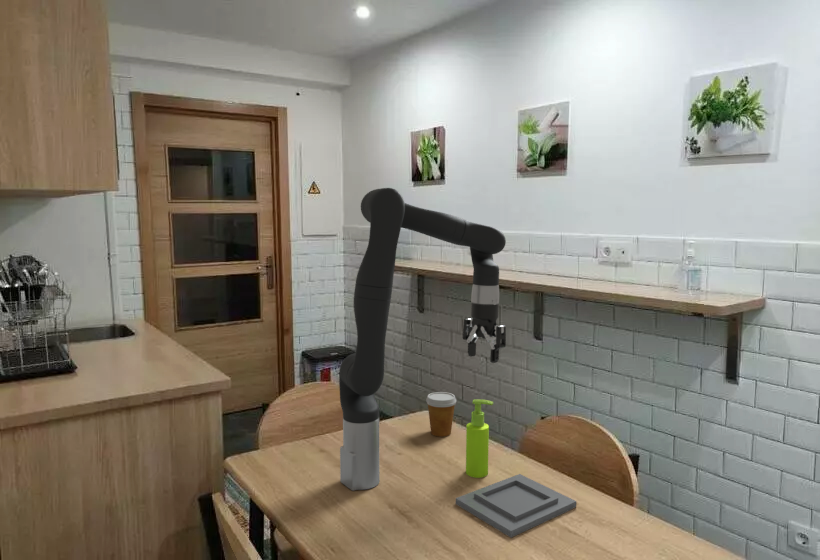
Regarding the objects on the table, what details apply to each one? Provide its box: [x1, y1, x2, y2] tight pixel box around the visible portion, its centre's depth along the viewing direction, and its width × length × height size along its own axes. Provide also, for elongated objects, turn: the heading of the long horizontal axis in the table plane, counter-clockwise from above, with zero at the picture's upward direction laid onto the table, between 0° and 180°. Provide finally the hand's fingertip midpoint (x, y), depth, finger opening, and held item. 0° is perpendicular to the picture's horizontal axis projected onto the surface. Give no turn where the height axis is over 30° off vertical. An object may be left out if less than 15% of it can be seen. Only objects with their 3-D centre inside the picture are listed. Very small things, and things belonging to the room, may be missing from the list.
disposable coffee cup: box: [425, 391, 457, 438], centre depth 184 cm, size 10×10×12 cm
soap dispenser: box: [465, 398, 494, 479], centre depth 155 cm, size 6×7×20 cm
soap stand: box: [455, 473, 577, 538], centre depth 139 cm, size 22×18×2 cm
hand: (482, 359), depth 161 cm, fingers open, 8 cm apart
